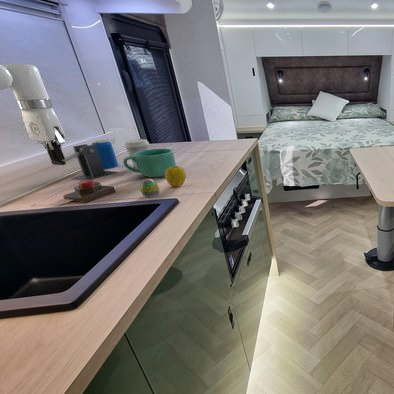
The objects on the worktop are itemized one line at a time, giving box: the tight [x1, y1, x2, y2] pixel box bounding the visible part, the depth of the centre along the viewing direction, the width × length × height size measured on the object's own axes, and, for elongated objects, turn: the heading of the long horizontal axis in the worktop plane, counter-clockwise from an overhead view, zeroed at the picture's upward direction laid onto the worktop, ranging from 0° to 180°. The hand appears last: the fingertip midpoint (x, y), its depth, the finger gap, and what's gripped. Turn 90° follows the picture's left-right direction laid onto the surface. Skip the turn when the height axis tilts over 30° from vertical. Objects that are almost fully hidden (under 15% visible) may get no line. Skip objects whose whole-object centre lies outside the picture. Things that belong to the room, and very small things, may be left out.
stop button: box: [78, 179, 95, 188], centre depth 93 cm, size 4×4×2 cm
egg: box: [139, 178, 160, 199], centre depth 93 cm, size 5×5×6 cm
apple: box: [164, 165, 187, 187], centre depth 102 cm, size 6×6×8 cm
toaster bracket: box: [70, 143, 118, 181], centre depth 111 cm, size 11×9×13 cm
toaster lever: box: [50, 148, 84, 166], centre depth 106 cm, size 12×5×2 cm, turn 166°
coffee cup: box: [124, 138, 150, 169], centre depth 123 cm, size 9×8×12 cm
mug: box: [122, 148, 177, 179], centre depth 113 cm, size 17×13×10 cm
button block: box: [62, 181, 117, 205], centre depth 94 cm, size 10×8×4 cm
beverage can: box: [91, 139, 119, 170], centre depth 123 cm, size 6×6×12 cm
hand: (58, 160), depth 101 cm, fingers closed
